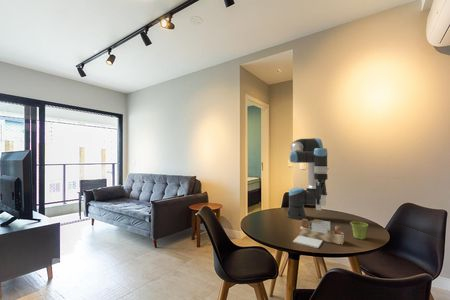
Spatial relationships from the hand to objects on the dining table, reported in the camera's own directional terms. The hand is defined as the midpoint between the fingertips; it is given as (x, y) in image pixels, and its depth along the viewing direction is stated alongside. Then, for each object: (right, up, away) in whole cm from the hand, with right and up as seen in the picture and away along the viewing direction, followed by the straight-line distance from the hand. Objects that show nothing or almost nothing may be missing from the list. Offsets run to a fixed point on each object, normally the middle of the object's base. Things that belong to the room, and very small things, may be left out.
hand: (321, 207), depth 135 cm
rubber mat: (-10, -19, -6) cm, 22 cm away
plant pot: (+24, -19, +1) cm, 31 cm away
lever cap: (0, -14, 0) cm, 14 cm away
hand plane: (0, -19, 0) cm, 19 cm away
